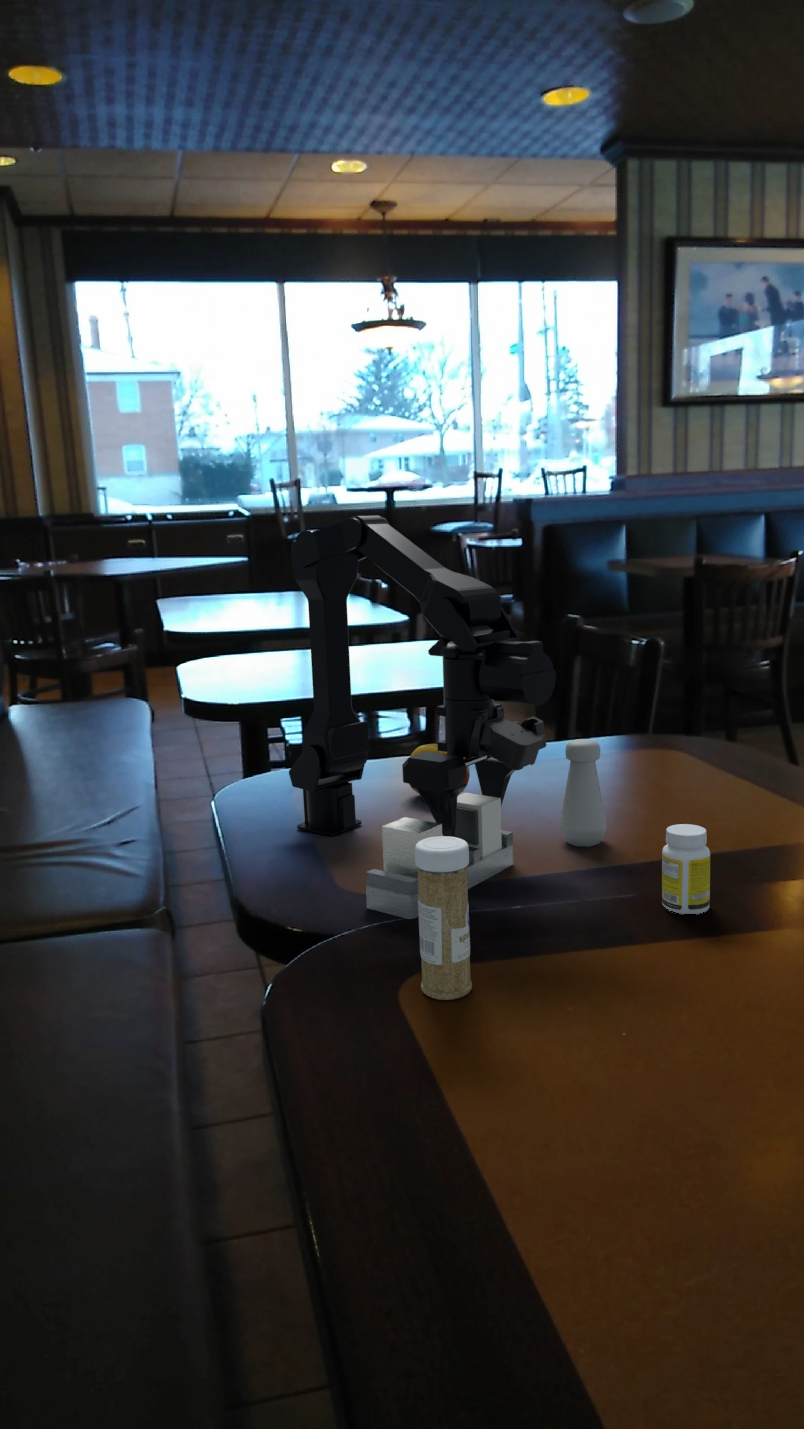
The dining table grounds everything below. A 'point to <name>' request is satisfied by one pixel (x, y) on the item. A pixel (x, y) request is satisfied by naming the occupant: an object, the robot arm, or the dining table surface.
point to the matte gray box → (479, 822)
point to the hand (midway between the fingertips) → (471, 828)
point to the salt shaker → (583, 796)
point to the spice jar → (444, 916)
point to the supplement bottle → (686, 870)
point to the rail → (412, 903)
